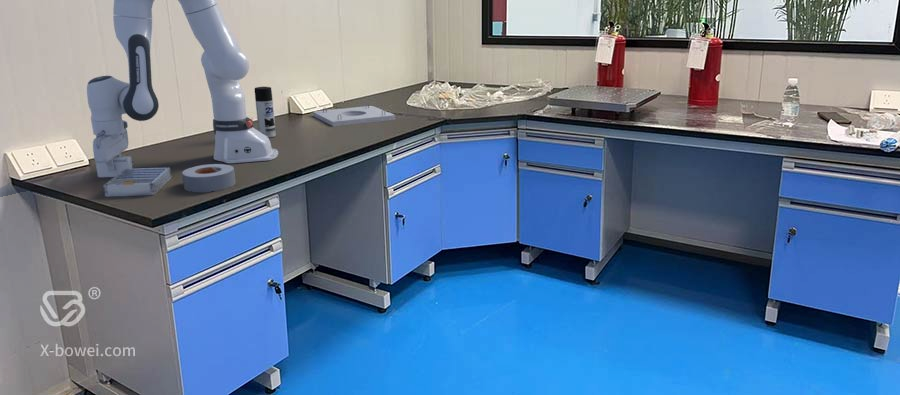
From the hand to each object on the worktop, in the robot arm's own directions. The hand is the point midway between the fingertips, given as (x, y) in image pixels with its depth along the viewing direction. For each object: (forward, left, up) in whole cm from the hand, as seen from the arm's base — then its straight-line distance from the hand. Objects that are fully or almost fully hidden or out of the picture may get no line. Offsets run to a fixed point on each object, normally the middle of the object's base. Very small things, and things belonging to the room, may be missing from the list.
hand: (114, 169), depth 217 cm
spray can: (-41, -52, -2) cm, 66 cm away
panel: (0, 0, -2) cm, 2 cm away
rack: (-12, +14, -2) cm, 19 cm away
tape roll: (-33, +14, -3) cm, 36 cm away
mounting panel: (-75, -87, -3) cm, 115 cm away
